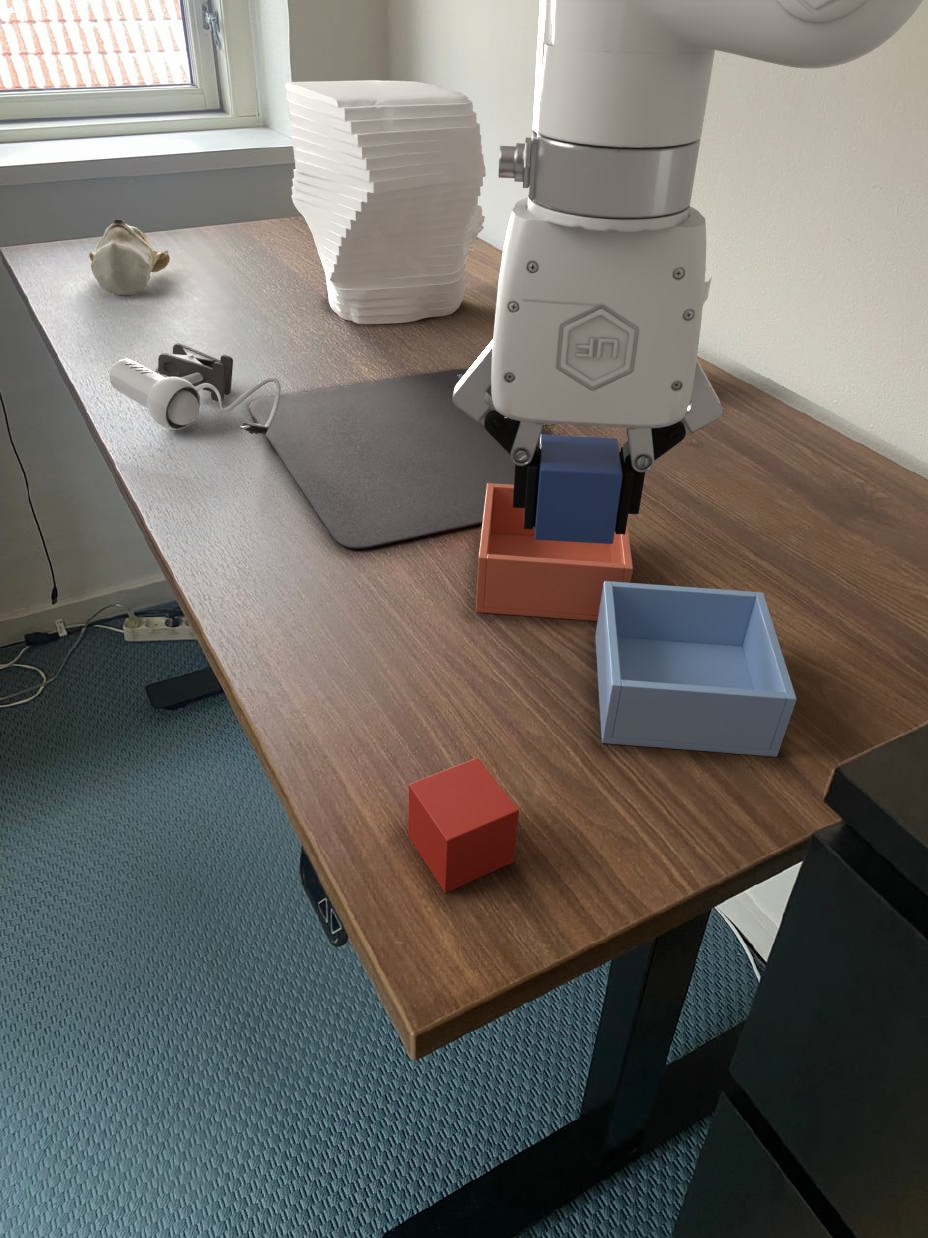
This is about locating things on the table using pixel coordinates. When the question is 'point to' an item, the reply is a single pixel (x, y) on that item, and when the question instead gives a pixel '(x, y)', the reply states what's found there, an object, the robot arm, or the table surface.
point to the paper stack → (388, 193)
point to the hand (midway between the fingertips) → (573, 516)
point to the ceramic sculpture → (125, 259)
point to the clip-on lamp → (183, 386)
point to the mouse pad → (387, 457)
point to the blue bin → (690, 670)
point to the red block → (462, 823)
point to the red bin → (542, 566)
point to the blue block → (578, 489)
